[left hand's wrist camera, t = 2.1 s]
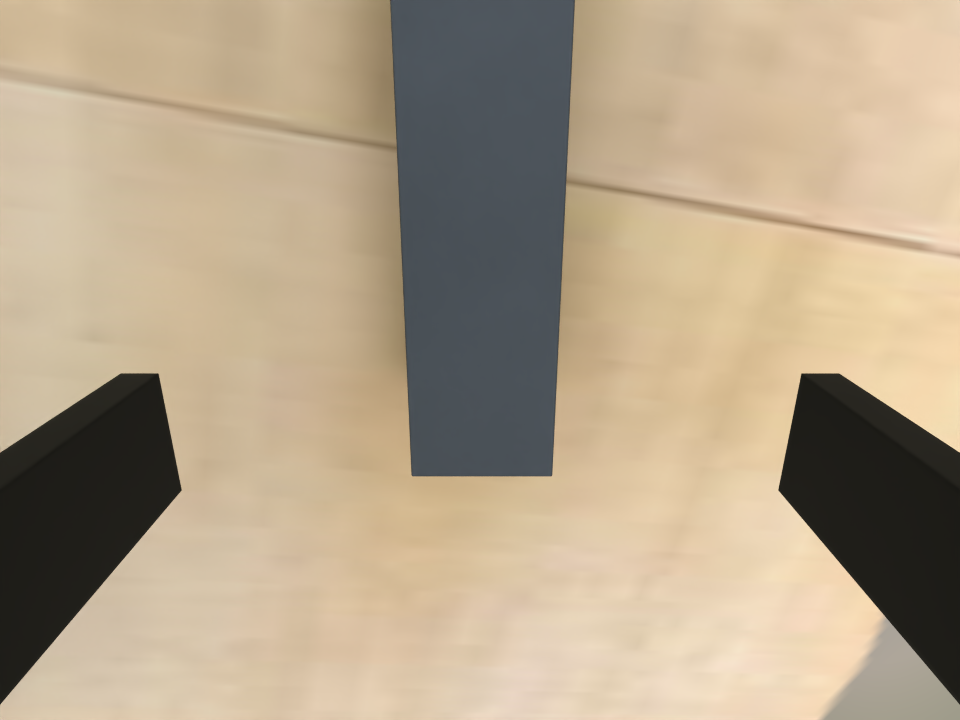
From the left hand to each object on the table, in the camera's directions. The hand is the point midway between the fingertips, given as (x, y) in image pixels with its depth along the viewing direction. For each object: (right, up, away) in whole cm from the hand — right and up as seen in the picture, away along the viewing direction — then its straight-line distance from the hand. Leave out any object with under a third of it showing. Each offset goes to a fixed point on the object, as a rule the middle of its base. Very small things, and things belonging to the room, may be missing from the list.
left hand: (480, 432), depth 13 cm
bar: (0, +33, +4) cm, 34 cm away
